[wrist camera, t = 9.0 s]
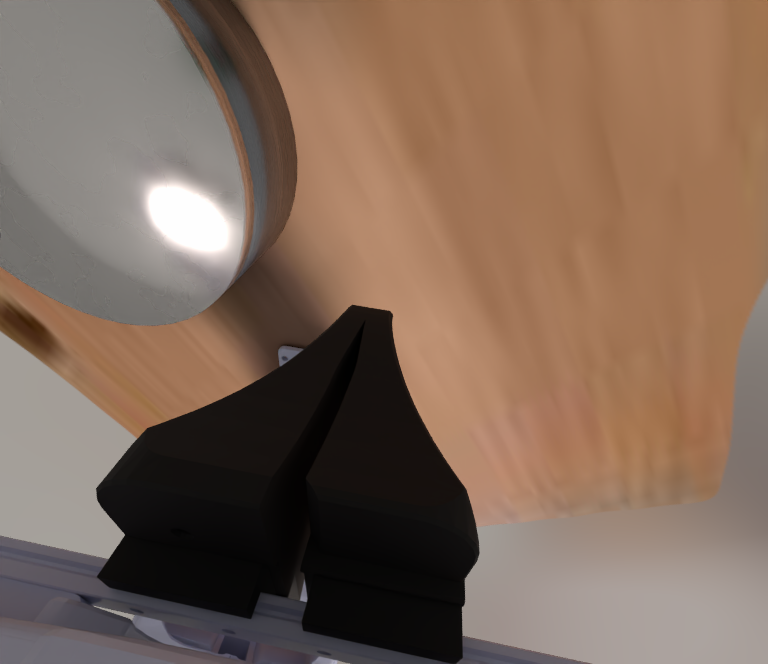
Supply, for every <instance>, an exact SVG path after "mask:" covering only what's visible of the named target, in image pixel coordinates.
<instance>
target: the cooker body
mask: <svg viewBox="0 0 768 664" xmlns="http://www.w3.org/2000/svg"><path fill="white" fill-rule="evenodd" d="M170 2H171V3H172V4H173V6H174V7H175V8H176V10H177V11H178V12H179V14H180V15H181V16H182V18H183V19H184V20H185V22H186V23H187V25H188V26H189V28H190V30H191V31H192V33H193V34H194V36H195V38H196V39H197V41H198V43H199V44H200V46H201V47H202V49H203V51H204V52H205V54H206V55H207V57H208V59H209V61H210V63H211V65H212V67H213V69H214V71H215V73H216V75H217V76H218V78H219V80H220V82H221V84H222V86H223V88H224V90H225V92H226V95H227V97H228V100H229V102H230V105H231V107H232V110H233V112H234V115H235V117H236V120H237V122H238V125H239V128H240V131H241V135H242V138H243V142H244V145H245V148H246V152H247V155H248V160H249V166H250V171H251V177H252V182H253V194H254V210H255V211H254V225H253V235H252V239H251V244H250V249H249V253H248V255H247V258H246V260H245V263H244V265H243V268H242V270H241V271H240V273H239V275H238V276H237V278H236V279H235V281H234V283H235V282H236V281H237V280H238V279H239V278H240V277H241V276H242V275H243V274H244V273H245V272H246V271H247V270H248V269H249V268H250V267H251V266H252V265H253V264H254V263H255V262H256V261H257V260H258V259H259V258H260V257H261V256H262V255H263V254H264V253H265V252H266V251H267V250H268V249H269V248H270V247H271V246H272V245H273V244H274V243H275V241H276V240H277V238H278V237H279V235H280V234H281V232H282V231H283V229H284V227H285V224H286V222H287V220H288V218H289V216H290V212H291V209H292V205H293V202H294V197H295V190H296V183H297V154H296V144H295V136H294V131H293V127H292V122H291V117H290V113H289V110H288V107H287V103H286V100H285V97H284V94H283V91H282V88H281V86H280V83H279V81H278V79H277V76H276V74H275V72H274V70H273V67H272V65H271V63H270V61H269V59H268V57H267V55H266V54H265V52H264V50H263V48H262V46H261V45H260V43H259V41H258V39H257V37H256V36H255V34H254V33H253V31H252V30H251V28H250V27H249V25H248V24H247V22H246V21H245V20H244V18H243V17H242V15H241V14H240V12H239V11H238V10H237V8H236V7H235V6H234V5H233V4H232V2H231V1H230V0H170ZM234 283H233V284H234ZM233 284H232V285H233ZM232 285H231V286H232ZM231 286H230V287H231ZM230 287H229V288H230ZM229 288H228V289H229ZM228 289H227V290H228ZM227 290H226V291H227Z"/></svg>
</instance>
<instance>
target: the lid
mask: <svg viewBox="0 0 768 664" xmlns="http://www.w3.org/2000/svg"><path fill="white" fill-rule="evenodd" d="M254 211H255V210H254V194H253V182H252V177H251V171H250V166H249V160H248V155H247V152H246V148H245V145H244V142H243V138H242V135H241V131H240V128H239V125H238V122H237V120H236V117H235V115H234V112H233V110H232V107H231V105H230V102H229V100H228V97H227V95H226V92H225V90H224V88H223V86H222V84H221V82H220V80H219V78H218V76H217V75H216V73H215V71H214V69H213V67H212V65H211V63H210V61H209V59H208V57H207V55H206V54H205V52H204V51H203V49H202V47H201V46H200V44H199V43H198V41H197V39H196V38H195V36H194V34H193V33H192V31H191V30H190V28H189V26H188V25H187V23H186V22H185V20H184V19H183V18H182V16H181V15H180V14H179V12H178V11H177V10H176V8H175V7H174V6H173V4H172V3H171V2H170V0H0V267H2V268H3V269H5V270H6V271H7V272H9V273H10V274H12V275H13V276H15V277H16V278H18V279H19V280H21V281H22V282H24V283H26V284H27V285H29V286H31V287H32V288H34V289H36V290H38V291H39V292H41V293H43V294H45V295H47V296H48V297H50V298H52V299H54V300H56V301H58V302H60V303H62V304H64V305H67V306H69V307H72V308H74V309H76V310H79V311H81V312H84V313H87V314H90V315H93V316H96V317H99V318H102V319H106V320H110V321H115V322H119V323H125V324H132V325H151V326H156V325H165V324H172V323H176V322H179V321H183V320H187V319H189V318H191V317H193V316H195V315H197V314H199V313H201V312H202V311H204V310H205V309H206V308H208V307H209V306H211V305H212V304H213V303H214V302H215V301H216V300H217V299H218V298H219V297H220V296H221V295H222V294H223V293H224V292H225V291H226V290H227V289H228V288H229V287H230V286H231V285H232V284H233V283H234V281H235V279H236V278H237V276H238V275H239V273H240V271H241V270H242V268H243V265H244V263H245V260H246V258H247V255H248V253H249V249H250V244H251V239H252V235H253V225H254Z"/></svg>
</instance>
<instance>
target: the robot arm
mask: <svg viewBox="0 0 768 664" xmlns="http://www.w3.org/2000/svg"><path fill="white" fill-rule="evenodd" d="M392 319H393V314H392V313H391V312H390V311H387V310H381V309H374V308H368V307H362V306H356V305H352V306H350V307H349V308H348V309H347V310H346V311H345V312H344V313H343V314H342V315H341V316H340V317H339V318H338V319H337V320H336V321H335V322H334V323H333V324H332V325H331V326H330V327H329V328H328V329H327V330H326V331H325V332H323V333H322V334H321V335H320V336H319V337H318V338H317V339H316V340H314V341H313V342H312V343H311V344H310V345H308V346H307V347H306V348H305V349H301V348H295V347H290V346H281V347H280V349H279V350H278V356H279V365H280V367H279V368H277V369H276V370H274V371H272V372H271V373H269V374H268V375H266V376H264V377H263V378H261V379H259V380H257V381H256V382H254V383H252V384H250V385H248V386H247V387H245V388H243V389H241V390H239V391H237V392H235V393H233V394H231V395H229V396H227V397H225V398H223V399H221V400H218V401H216V402H214V403H212V404H209V405H207V406H205V407H202V408H200V409H198V410H195V411H193V412H190V413H187V414H185V415H182V416H179V417H177V418H174V419H171V420H169V421H166V422H163V423H161V424H158V425H155V426H152V427H149V428H147V429H146V430H145V431H144V432H143V433H142V435H141V436H140V437H139V438H138V439H137V440H136V441H135V442H134V443H133V444H132V445H131V447H130V448H129V449H128V450H127V451H126V453H125V454H124V455H123V456H122V458H121V459H120V460H119V461H118V463H117V464H116V465H115V466H114V468H113V469H112V470H111V471H110V472H109V474H108V475H107V476H106V477H105V478H104V480H103V481H102V482H101V483H100V484H99V486H98V487H97V488H96V491H97V500H98V502H99V503H100V505H101V507H102V508H103V509H104V511H106V513H107V514H108V515H109V517H110V518H111V519H112V520H113V521H114V522H115V523H116V524H117V526H118V527H119V528H120V529H121V530H122V532H124V534H125V536H124V538H123V539H122V541H121V542H120V544H119V545H118V546H117V548H116V549H115V551H114V552H113V554H112V555H111V557H110V558H109V559H105V558H101V557H96V556H91V555H87V554H82V553H78V552H73V551H68V550H64V549H59V548H55V547H50V546H45V545H41V544H36V543H31V542H27V541H22V540H18V539H13V538H8V537H4V536H0V664H337V662H338V661H342V662H346V663H350V664H590V663H586V662H581V661H576V660H572V659H566V658H563V657H558V656H553V655H549V654H544V653H540V652H535V651H530V650H525V649H520V648H516V647H511V646H507V645H502V644H498V643H493V642H489V641H484V640H479V639H475V638H470V637H465V636H462V607H463V606H464V604H465V578H466V576H467V575H468V574H469V572H470V571H471V569H472V568H473V566H474V565H475V563H476V562H477V560H478V556H479V540H478V534H477V528H476V523H475V519H474V514H473V510H472V507H471V503H470V500H469V496H468V493H467V490H466V488H465V487H464V485H463V484H462V483H461V481H460V480H459V479H458V477H457V476H456V474H455V473H454V472H453V470H452V469H451V467H450V466H449V464H448V463H447V461H446V460H445V458H444V457H443V455H442V454H441V452H440V450H439V449H438V447H437V446H436V444H435V442H434V441H433V439H432V437H431V435H430V434H429V432H428V430H427V428H426V426H425V424H424V423H423V421H422V419H421V417H420V415H419V413H418V411H417V409H416V407H415V405H414V402H413V400H412V398H411V396H410V393H409V391H408V388H407V386H406V383H405V380H404V377H403V374H402V371H401V368H400V365H399V361H398V357H397V353H396V349H395V344H394V339H393V331H392ZM284 356H286V357H287V358H286V357H284ZM93 606H98V607H102V608H107V609H111V610H116V611H121V612H124V613H129V614H133V615H135V616H134V618H133V620H132V621H131V620H130V619H128V618H126V617H123V616H120V615H116V614H114V613H111V612H108V611H105V610H102V609H99V608H96V607H93Z"/></svg>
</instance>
